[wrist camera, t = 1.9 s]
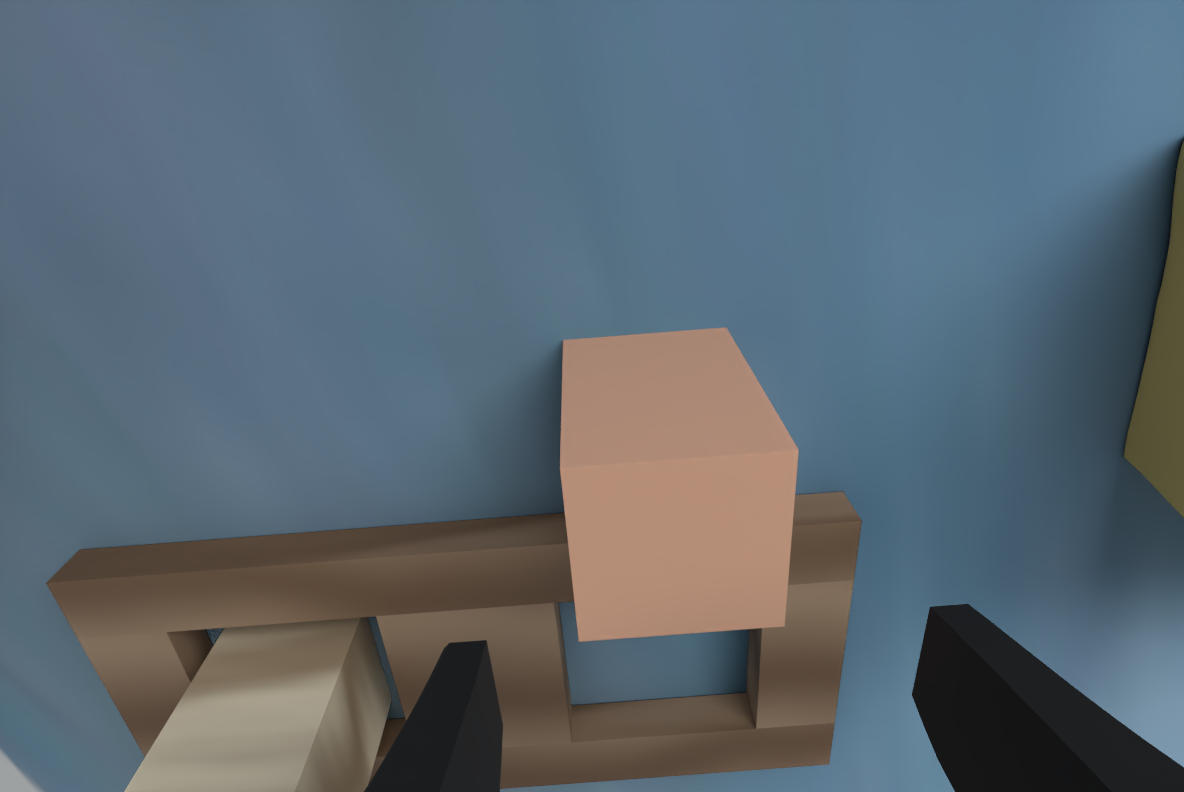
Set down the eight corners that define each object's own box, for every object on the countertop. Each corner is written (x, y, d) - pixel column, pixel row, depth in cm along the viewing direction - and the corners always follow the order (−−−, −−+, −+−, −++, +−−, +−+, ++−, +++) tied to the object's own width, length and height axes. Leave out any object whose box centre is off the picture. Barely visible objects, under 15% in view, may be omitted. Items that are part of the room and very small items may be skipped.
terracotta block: (563, 339, 18) (560, 467, 13) (726, 327, 18) (798, 449, 13) (576, 476, 20) (578, 641, 15) (723, 465, 20) (784, 626, 15)
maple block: (231, 616, 22) (113, 809, 17) (364, 606, 22) (293, 795, 17) (269, 708, 24) (176, 908, 19) (391, 698, 24) (336, 896, 19)
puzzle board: (79, 549, 21) (46, 583, 20) (842, 491, 21) (861, 520, 20) (196, 774, 26) (176, 813, 25) (815, 727, 26) (828, 764, 24)
